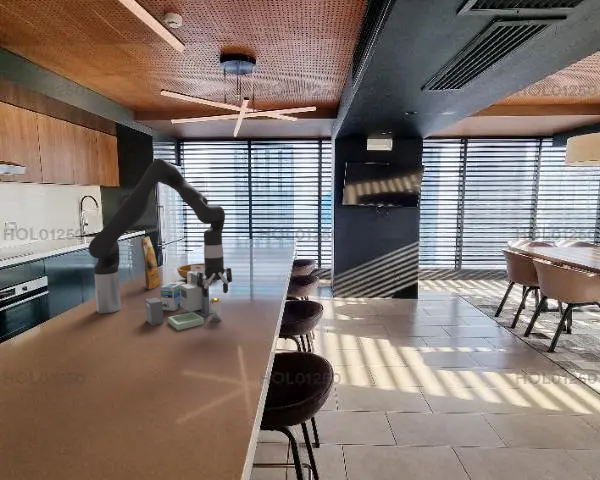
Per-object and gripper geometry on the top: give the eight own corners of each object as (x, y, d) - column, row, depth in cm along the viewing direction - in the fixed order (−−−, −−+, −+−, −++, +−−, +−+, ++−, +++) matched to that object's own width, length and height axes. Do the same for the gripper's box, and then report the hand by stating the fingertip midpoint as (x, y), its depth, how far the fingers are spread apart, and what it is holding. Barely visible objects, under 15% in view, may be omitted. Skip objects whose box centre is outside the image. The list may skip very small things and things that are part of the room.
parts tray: (177, 330, 134) (177, 324, 133) (168, 322, 142) (167, 317, 141) (204, 323, 140) (203, 318, 140) (193, 316, 148) (193, 311, 148)
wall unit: (191, 319, 145) (189, 281, 143) (177, 309, 158) (175, 274, 156) (217, 313, 153) (215, 277, 151) (201, 304, 165) (200, 270, 163)
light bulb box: (174, 311, 156) (173, 287, 155) (161, 310, 157) (159, 286, 156) (187, 303, 166) (186, 281, 165) (174, 303, 168) (172, 280, 166)
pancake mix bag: (139, 290, 190) (136, 239, 186) (151, 282, 209) (148, 234, 205) (152, 290, 191) (149, 238, 187) (163, 281, 209) (160, 234, 206)
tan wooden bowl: (180, 275, 225) (180, 263, 224) (219, 273, 230) (219, 261, 229) (174, 287, 196) (173, 273, 195) (219, 284, 201) (218, 271, 200)
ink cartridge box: (187, 294, 181) (186, 266, 179) (191, 292, 186) (190, 264, 184) (203, 295, 180) (202, 267, 179) (207, 292, 185) (205, 265, 184)
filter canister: (213, 322, 142) (212, 301, 141) (208, 319, 145) (207, 298, 144) (223, 319, 144) (222, 299, 143) (218, 317, 148) (217, 296, 147)
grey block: (151, 325, 139) (150, 303, 138) (146, 320, 144) (144, 299, 143) (163, 322, 142) (162, 301, 141) (157, 318, 147) (156, 297, 146)
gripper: (225, 252, 149) (227, 289, 151) (192, 256, 140) (195, 296, 142) (234, 254, 143) (235, 293, 145) (200, 259, 134) (203, 300, 136)
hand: (215, 294), depth 144 cm, fingers open, 8 cm apart
